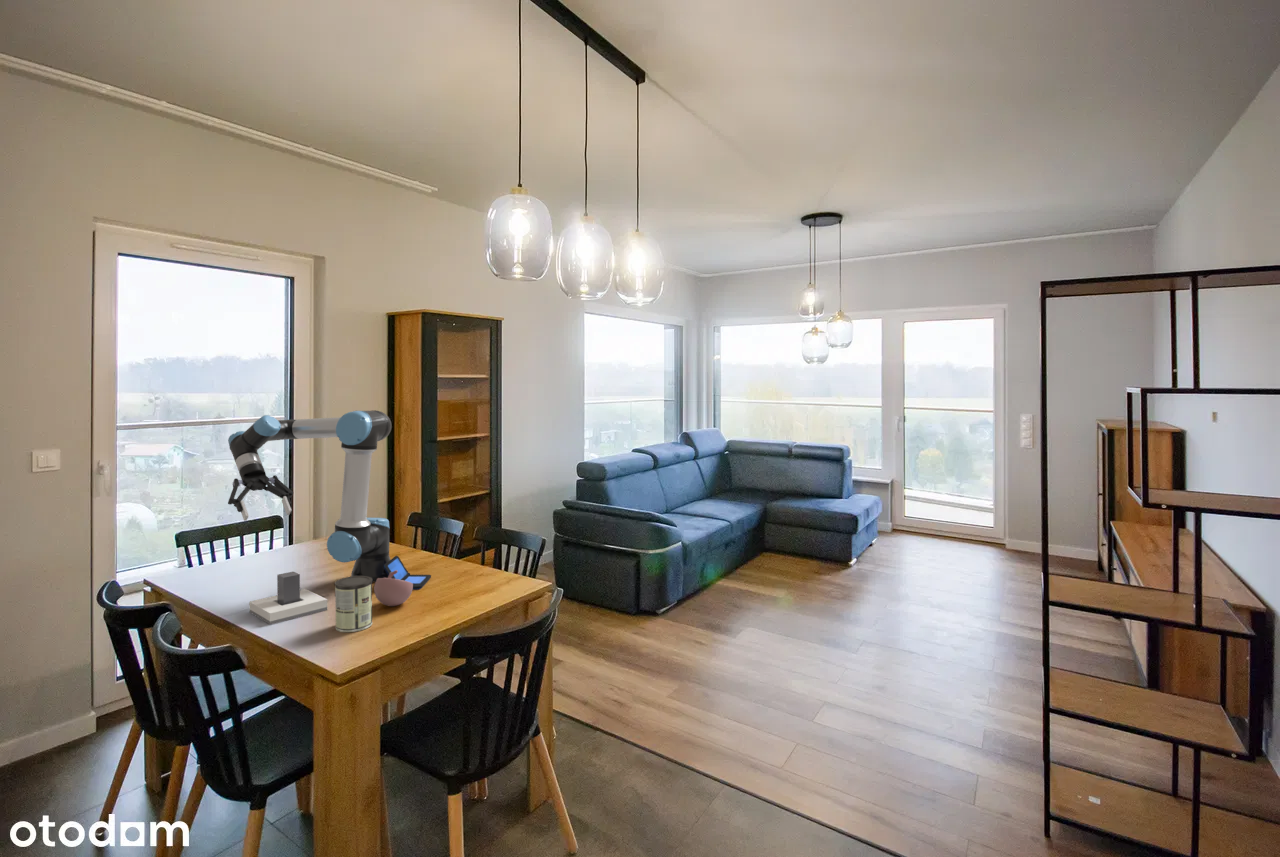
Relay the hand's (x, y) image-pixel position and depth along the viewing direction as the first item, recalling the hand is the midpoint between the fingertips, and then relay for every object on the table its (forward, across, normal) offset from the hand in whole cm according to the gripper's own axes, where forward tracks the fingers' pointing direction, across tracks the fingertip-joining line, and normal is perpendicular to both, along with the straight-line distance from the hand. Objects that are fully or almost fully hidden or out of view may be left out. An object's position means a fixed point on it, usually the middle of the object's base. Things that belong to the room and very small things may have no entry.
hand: (268, 515), depth 209 cm
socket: (+36, +3, -4) cm, 36 cm away
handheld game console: (+38, -38, -2) cm, 53 cm away
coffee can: (+55, -4, +16) cm, 58 cm away
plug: (+35, +3, -3) cm, 35 cm away
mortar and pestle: (+50, -22, +10) cm, 55 cm away
